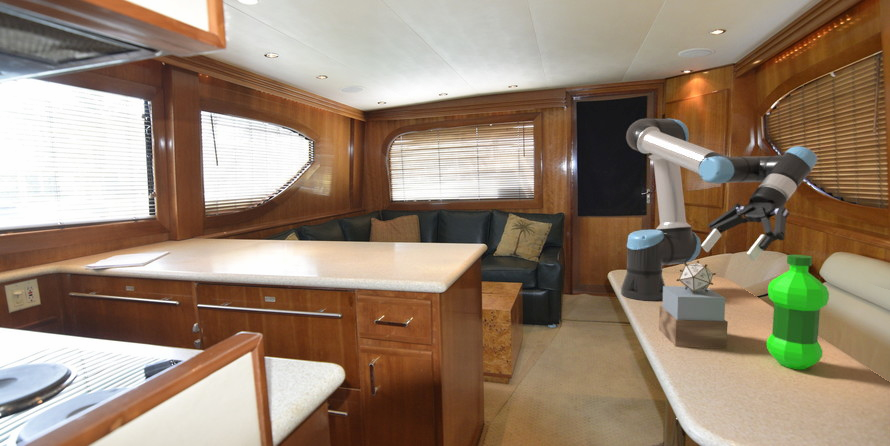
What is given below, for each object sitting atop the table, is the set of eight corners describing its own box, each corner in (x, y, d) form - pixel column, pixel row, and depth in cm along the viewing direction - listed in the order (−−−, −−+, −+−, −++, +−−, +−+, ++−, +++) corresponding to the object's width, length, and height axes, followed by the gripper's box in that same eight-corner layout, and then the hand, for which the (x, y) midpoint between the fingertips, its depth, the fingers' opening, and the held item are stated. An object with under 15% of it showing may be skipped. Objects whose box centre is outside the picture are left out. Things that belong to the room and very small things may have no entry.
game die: (703, 307, 112) (727, 282, 106) (671, 295, 113) (693, 269, 106) (698, 283, 119) (720, 258, 112) (667, 272, 120) (688, 247, 113)
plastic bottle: (829, 366, 97) (837, 256, 94) (810, 379, 91) (819, 262, 88) (776, 352, 105) (783, 250, 102) (756, 362, 99) (762, 255, 97)
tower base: (659, 330, 122) (659, 306, 121) (704, 331, 120) (705, 307, 119) (675, 347, 110) (676, 320, 109) (726, 348, 108) (727, 321, 107)
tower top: (662, 307, 120) (663, 286, 120) (705, 308, 119) (705, 286, 118) (677, 319, 109) (678, 296, 109) (724, 321, 108) (725, 297, 107)
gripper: (830, 206, 106) (780, 271, 104) (736, 201, 130) (694, 254, 128) (815, 185, 104) (765, 251, 102) (723, 184, 128) (681, 237, 126)
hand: (726, 252), depth 115 cm, fingers open, 13 cm apart
